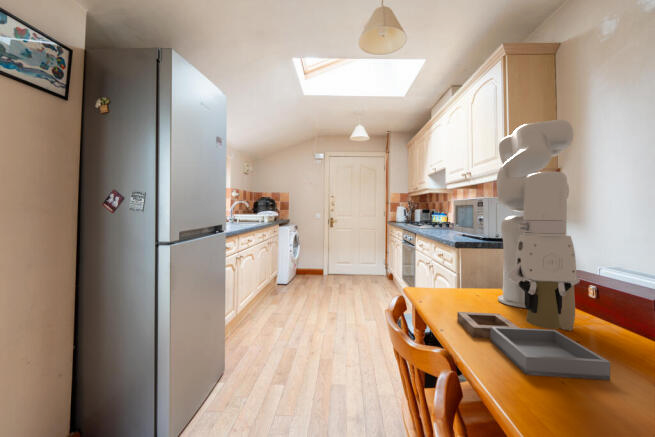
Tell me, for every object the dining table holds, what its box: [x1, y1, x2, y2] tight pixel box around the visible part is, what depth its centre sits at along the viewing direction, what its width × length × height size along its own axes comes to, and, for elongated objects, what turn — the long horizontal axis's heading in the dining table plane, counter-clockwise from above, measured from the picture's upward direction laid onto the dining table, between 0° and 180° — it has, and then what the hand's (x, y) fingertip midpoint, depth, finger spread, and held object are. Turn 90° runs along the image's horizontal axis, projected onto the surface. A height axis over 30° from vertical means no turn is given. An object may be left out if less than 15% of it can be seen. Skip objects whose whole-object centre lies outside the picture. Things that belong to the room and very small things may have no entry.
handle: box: [559, 275, 580, 332], centre depth 77 cm, size 5×6×15 cm
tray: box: [489, 327, 611, 381], centre depth 61 cm, size 15×15×4 cm
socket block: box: [456, 311, 520, 339], centre depth 77 cm, size 12×12×2 cm
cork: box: [525, 282, 561, 330], centre depth 61 cm, size 6×6×11 cm
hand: (542, 310), depth 61 cm, fingers closed on cork, 4 cm apart
